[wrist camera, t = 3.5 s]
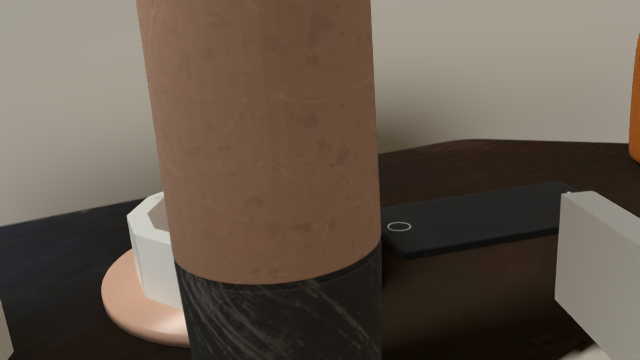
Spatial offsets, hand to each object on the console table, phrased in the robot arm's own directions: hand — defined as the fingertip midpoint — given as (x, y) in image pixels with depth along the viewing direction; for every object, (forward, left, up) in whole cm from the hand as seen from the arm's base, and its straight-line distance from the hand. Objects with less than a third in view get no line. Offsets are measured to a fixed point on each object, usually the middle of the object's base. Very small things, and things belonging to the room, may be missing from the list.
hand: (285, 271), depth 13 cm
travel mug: (-5, +6, -11) cm, 14 cm away
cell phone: (-6, +32, -12) cm, 34 cm away
